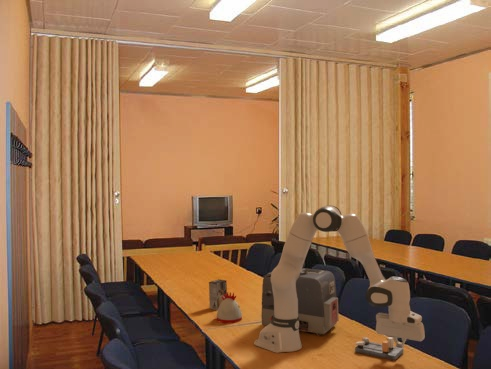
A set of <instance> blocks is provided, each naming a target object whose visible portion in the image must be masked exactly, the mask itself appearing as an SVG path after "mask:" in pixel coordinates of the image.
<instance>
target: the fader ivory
mask: <svg viewBox="0 0 491 369" xmlns="http://www.w3.org/2000/svg"><path fill="white" fill-rule="evenodd" d="M386 341H389V348H392V347H393V346H394V339H393V336H388V337H386Z"/></svg>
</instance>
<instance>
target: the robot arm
mask: <svg viewBox="0 0 491 369" xmlns="http://www.w3.org/2000/svg"><path fill="white" fill-rule="evenodd" d="M318 231H320V232H325V233H330V232H338V234H339V235H340V238H341V240H342V243H343V245H344V247H345V249H346V251H347V253H348V254H349V256H350V257H351V258H353V259H355V260H357V261H358V262H360V264H361V265H362V267H363V269H364V271H365V273H366V275H367V277H368V280H369V287H368V289H367V290H366V291H365V299H366V301H367V303H368V304H369V305H370V306H372V307H374V308H384V307H388V313H387V312H386V313H385V312H382V311H381V312H378V313H376V314H375V321H376V323H375V324H376V325H375V332H376V334H377V335H383V336H386V337H387V336H388V337H393V342H394V343H395V347H399V348H403V349H404V348H405V342H406V341H407V340H411V341H416V342H422V341H423V340H425V337H426V336H425V333H426V332H425V325H424V324H423V322H422V320H423V316H422V315H420V314H418V313H416V312H413V311H412V310H411V306H410V300H411V290H410V285H409V282H408V280H407V279H405V278H404V277H400V276H390V277H389V278H387V277H385V276H384V274H383V273H382V270H381V268H380V266H379V263H378V262H377V259H376V257H375V254H374V251H373V247H372V243H371V240H370V237H369V234H368V232H367V230H366V228H365V226H364V224H363V222H362V221H361V218H359V216H358V215H357V214H355V213H346V214H342V212H341V210H340V209H339V208H338V207H336V206H334V205H332V204H331V205H329V204H328V205H324V206H321V207H319V208H317V210H316V211H315V212H314V213H310V212H300V213H299V214H298V215H297V217H296V218H295V219H294V222H293V223H292V225H291V227H290V229H289V232H288V235H287V236H286V240H285V242H284V244H283V249H282V252H281V256H280V259H279V260H278V261H279V262H278V264H277V265H276V266H275V267H274V268H273V270H272V271H271V272H272V273H271V272H270V273H271V283H272V290H273V296H274V315H273V316H272V317H270V319H269V320H271V319H272V321H271V323H270V324H269V325H267V326H266V325H265V327H263V328H261V330H260V331H259V337H258V338H257V339H255V341H254V344H253V345H254V346H257V347H259V348H262V349H264V350H268V351H270V352H273V353H285V352H286V353H287V352H289V353H290V352H296V351H299V350H301V349H302V348H303V344H302V341H301V336H300V330H299V316H298V298H297V293H296V280H297V279H298V278H299V275H300V273H301V270H302V268H304V264H305V261H306V257H307V256H308V252H309V249H310V248H311V244H312V242H313V240H314V236H315V235H316V233H317V232H318ZM398 339H401V341H402V342H400V341H399V340H398Z"/></svg>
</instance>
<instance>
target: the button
mask: <svg viewBox="0 0 491 369" xmlns="http://www.w3.org/2000/svg"><path fill="white" fill-rule="evenodd" d="M362 341H365V343H369V342H370V338H369V337H366V336H365V337H362Z"/></svg>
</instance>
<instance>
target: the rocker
mask: <svg viewBox="0 0 491 369" xmlns="http://www.w3.org/2000/svg"><path fill="white" fill-rule="evenodd" d="M364 344H365V341H363V340H362V341H356V342H355V344H354V345H355V346H358V345H364Z"/></svg>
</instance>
